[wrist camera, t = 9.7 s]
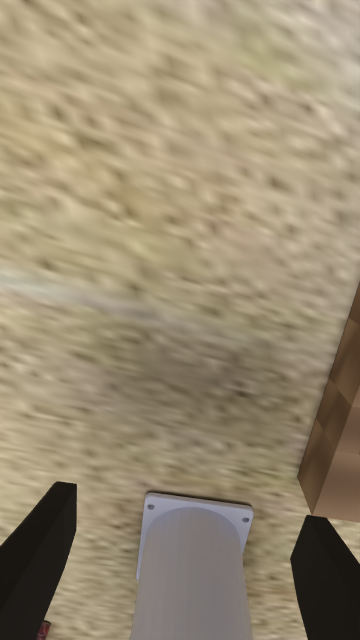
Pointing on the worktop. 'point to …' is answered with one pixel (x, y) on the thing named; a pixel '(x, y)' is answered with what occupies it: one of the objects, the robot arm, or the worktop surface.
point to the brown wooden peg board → (337, 435)
